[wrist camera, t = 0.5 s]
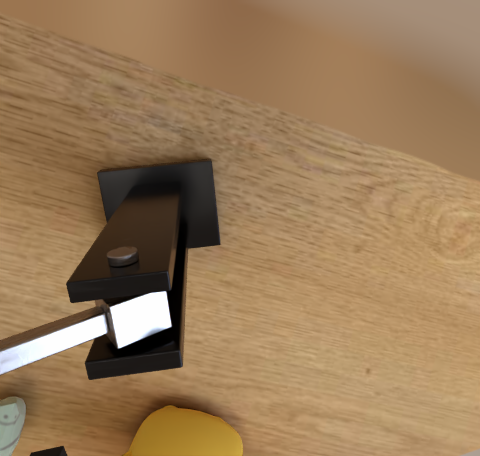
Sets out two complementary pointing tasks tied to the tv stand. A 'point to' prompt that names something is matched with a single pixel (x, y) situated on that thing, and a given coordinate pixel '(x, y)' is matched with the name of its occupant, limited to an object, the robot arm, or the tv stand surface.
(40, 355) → the lever
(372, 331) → the tv stand surface
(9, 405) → the pale green rounded lump
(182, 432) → the teapot
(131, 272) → the bracket
